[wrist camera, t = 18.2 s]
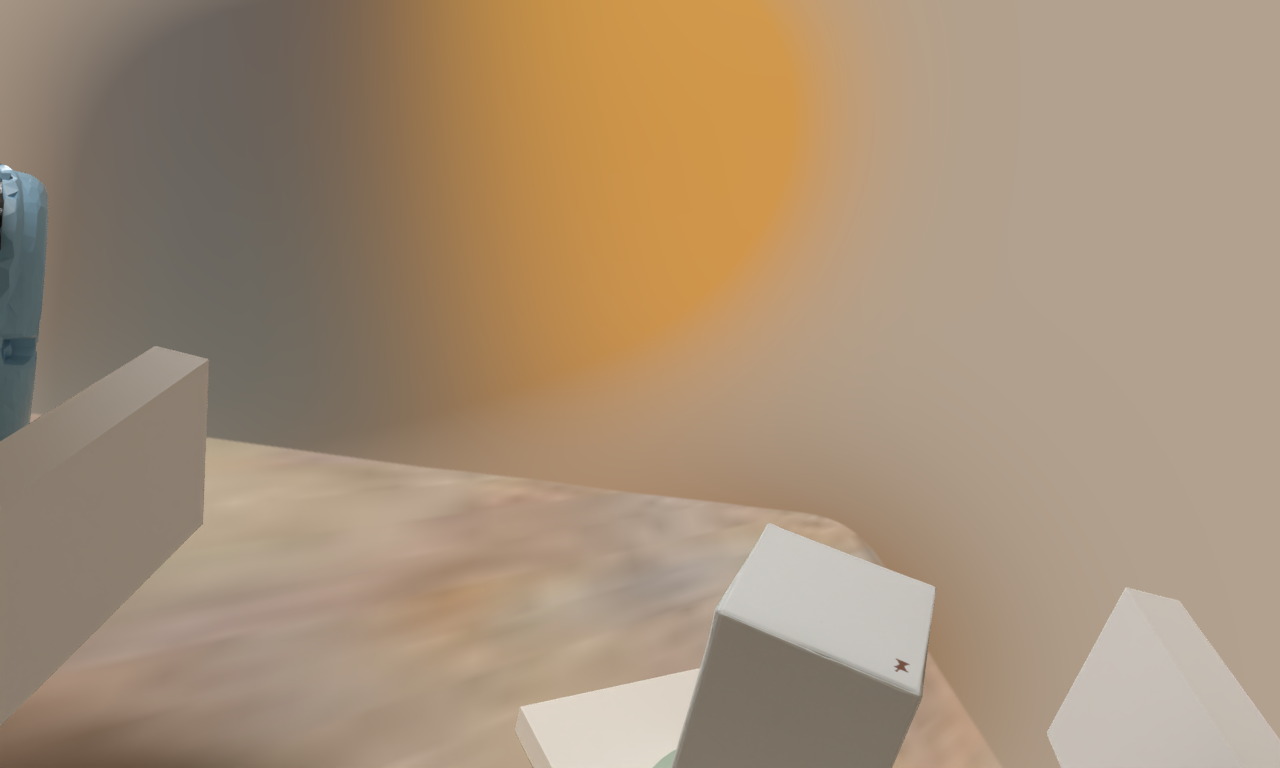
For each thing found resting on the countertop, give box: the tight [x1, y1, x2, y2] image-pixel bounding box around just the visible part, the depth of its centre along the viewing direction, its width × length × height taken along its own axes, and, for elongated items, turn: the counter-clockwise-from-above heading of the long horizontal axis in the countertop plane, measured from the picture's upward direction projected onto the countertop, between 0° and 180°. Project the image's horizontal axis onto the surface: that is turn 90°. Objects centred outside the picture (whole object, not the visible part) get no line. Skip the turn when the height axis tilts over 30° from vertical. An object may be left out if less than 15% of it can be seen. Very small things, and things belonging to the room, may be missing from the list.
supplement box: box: [671, 523, 936, 768], centre depth 36 cm, size 7×7×13 cm
